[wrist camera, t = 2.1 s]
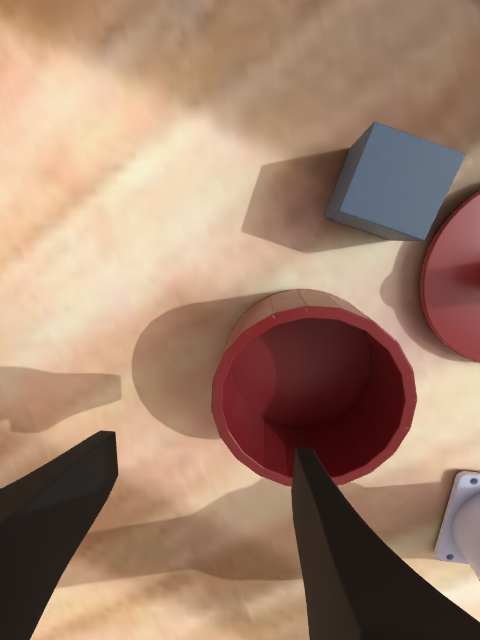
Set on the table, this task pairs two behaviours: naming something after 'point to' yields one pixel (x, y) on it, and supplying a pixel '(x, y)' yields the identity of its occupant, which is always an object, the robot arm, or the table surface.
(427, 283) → the tin lid
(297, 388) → the tin
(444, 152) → the block
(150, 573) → the table surface
